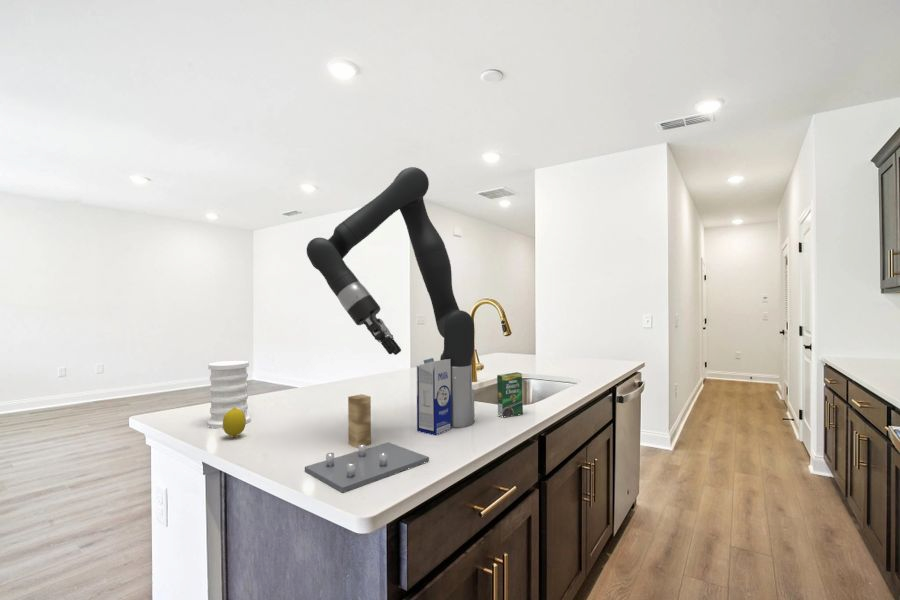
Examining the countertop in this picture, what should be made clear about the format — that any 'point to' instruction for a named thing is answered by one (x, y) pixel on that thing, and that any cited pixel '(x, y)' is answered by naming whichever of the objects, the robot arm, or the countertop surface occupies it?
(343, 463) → the plate
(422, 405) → the milk carton
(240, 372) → the decorative container
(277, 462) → the countertop surface
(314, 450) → the countertop surface
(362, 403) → the oak block
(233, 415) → the lemon
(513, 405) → the coffee box
